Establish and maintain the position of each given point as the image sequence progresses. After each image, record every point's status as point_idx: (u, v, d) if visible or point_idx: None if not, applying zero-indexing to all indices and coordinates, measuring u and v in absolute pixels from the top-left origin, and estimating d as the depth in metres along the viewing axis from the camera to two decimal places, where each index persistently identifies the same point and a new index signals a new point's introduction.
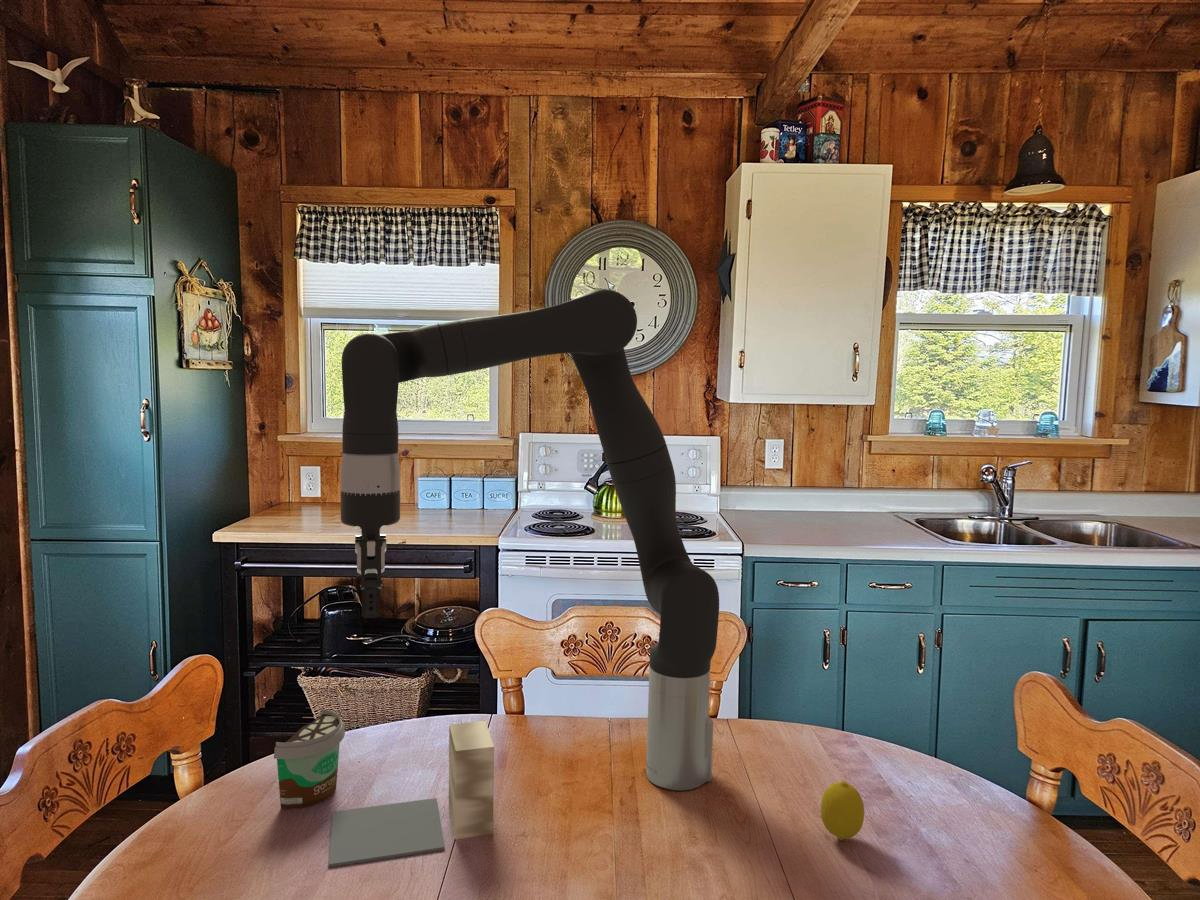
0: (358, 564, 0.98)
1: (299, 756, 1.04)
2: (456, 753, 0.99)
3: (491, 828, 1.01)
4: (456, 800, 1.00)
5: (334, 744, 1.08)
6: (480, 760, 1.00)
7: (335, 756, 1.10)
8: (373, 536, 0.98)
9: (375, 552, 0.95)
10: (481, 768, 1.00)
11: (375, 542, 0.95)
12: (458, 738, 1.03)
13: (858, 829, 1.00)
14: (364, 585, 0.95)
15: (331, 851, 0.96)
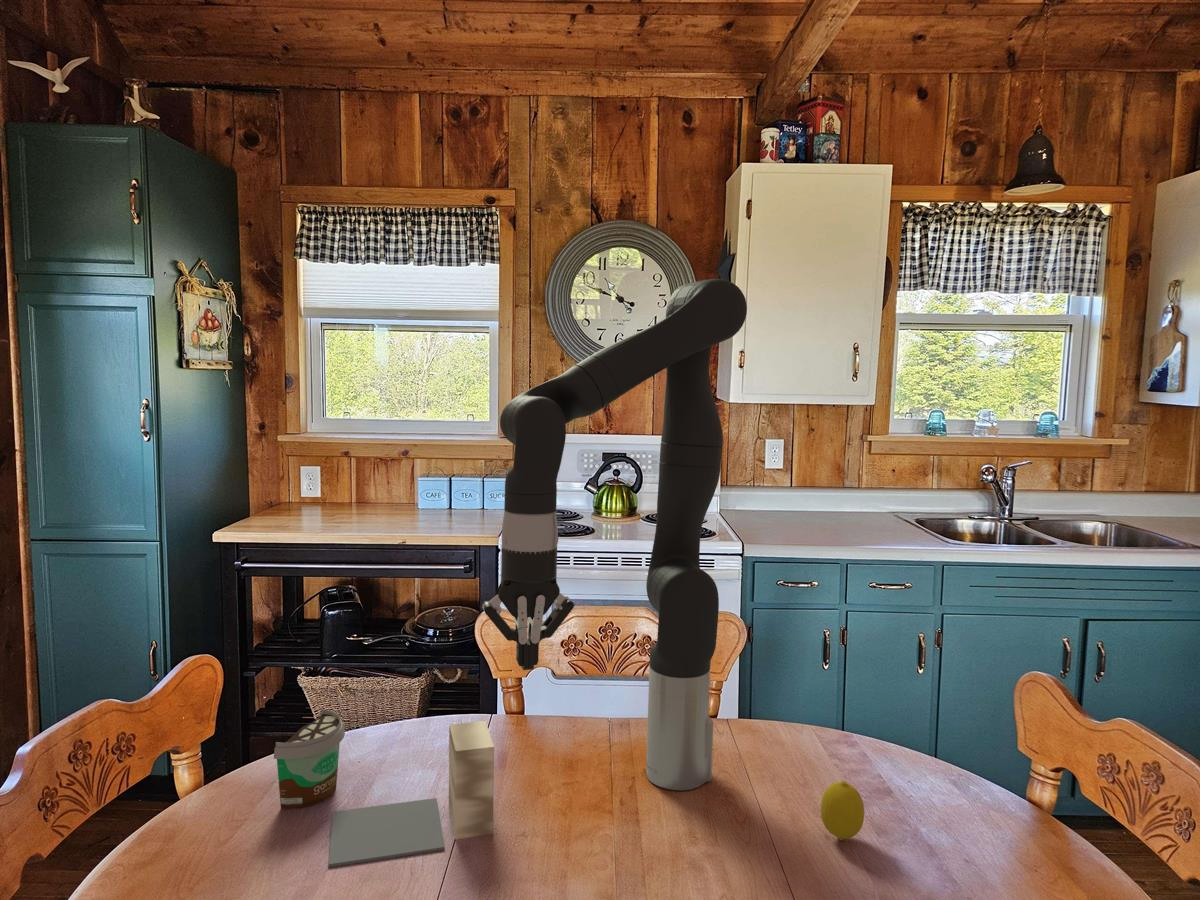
0: None
1: (299, 756, 1.04)
2: (456, 753, 0.99)
3: (491, 828, 1.01)
4: (456, 800, 1.00)
5: (334, 744, 1.08)
6: (480, 760, 1.00)
7: (335, 756, 1.10)
8: None
9: None
10: (481, 768, 1.00)
11: None
12: (458, 738, 1.03)
13: (858, 829, 1.00)
14: None
15: (331, 851, 0.96)
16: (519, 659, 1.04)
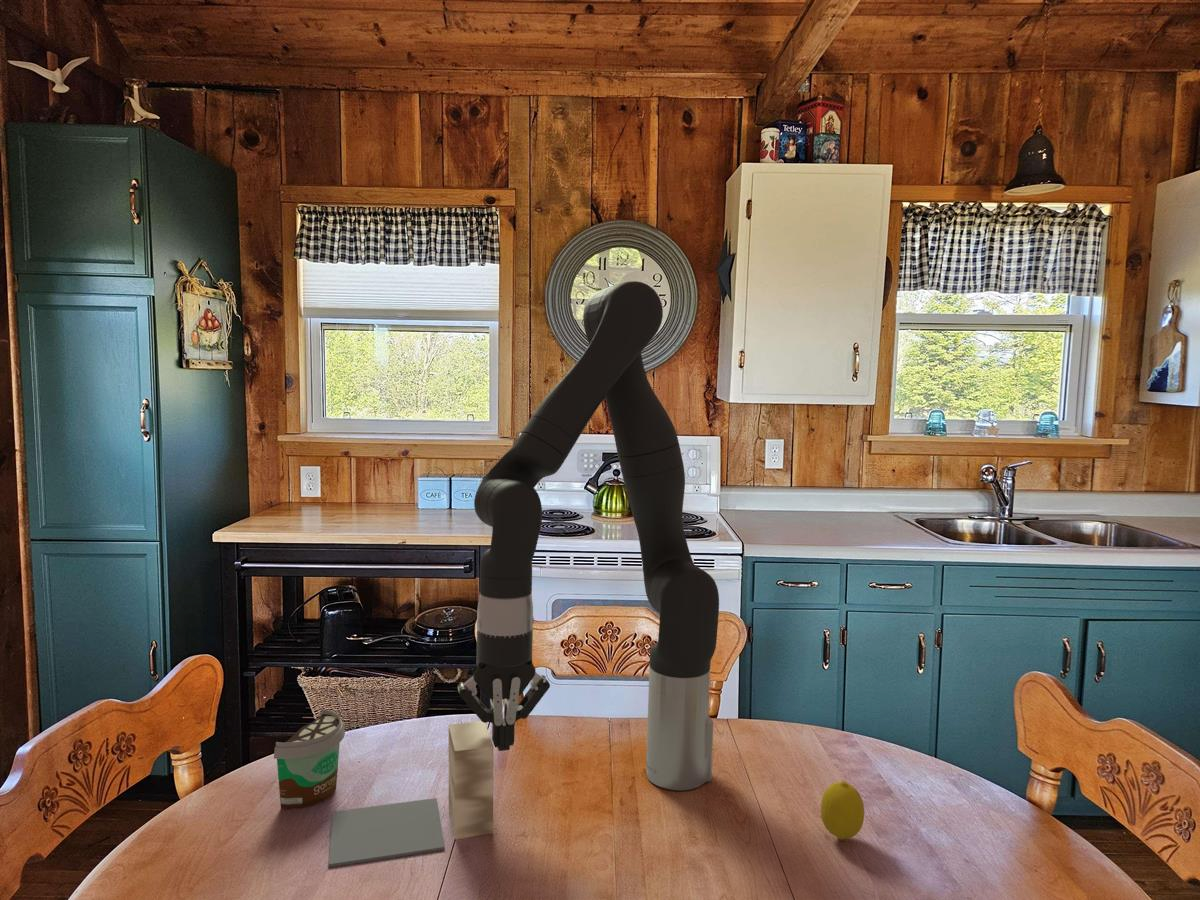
0: (517, 703, 1.04)
1: (299, 756, 1.04)
2: (455, 753, 0.99)
3: (491, 828, 1.01)
4: (456, 800, 1.00)
5: (334, 744, 1.08)
6: (480, 760, 1.00)
7: (335, 755, 1.10)
8: None
9: None
10: (480, 768, 1.00)
11: None
12: (457, 738, 1.03)
13: (858, 829, 1.00)
14: None
15: (331, 851, 0.96)
16: (495, 740, 1.04)
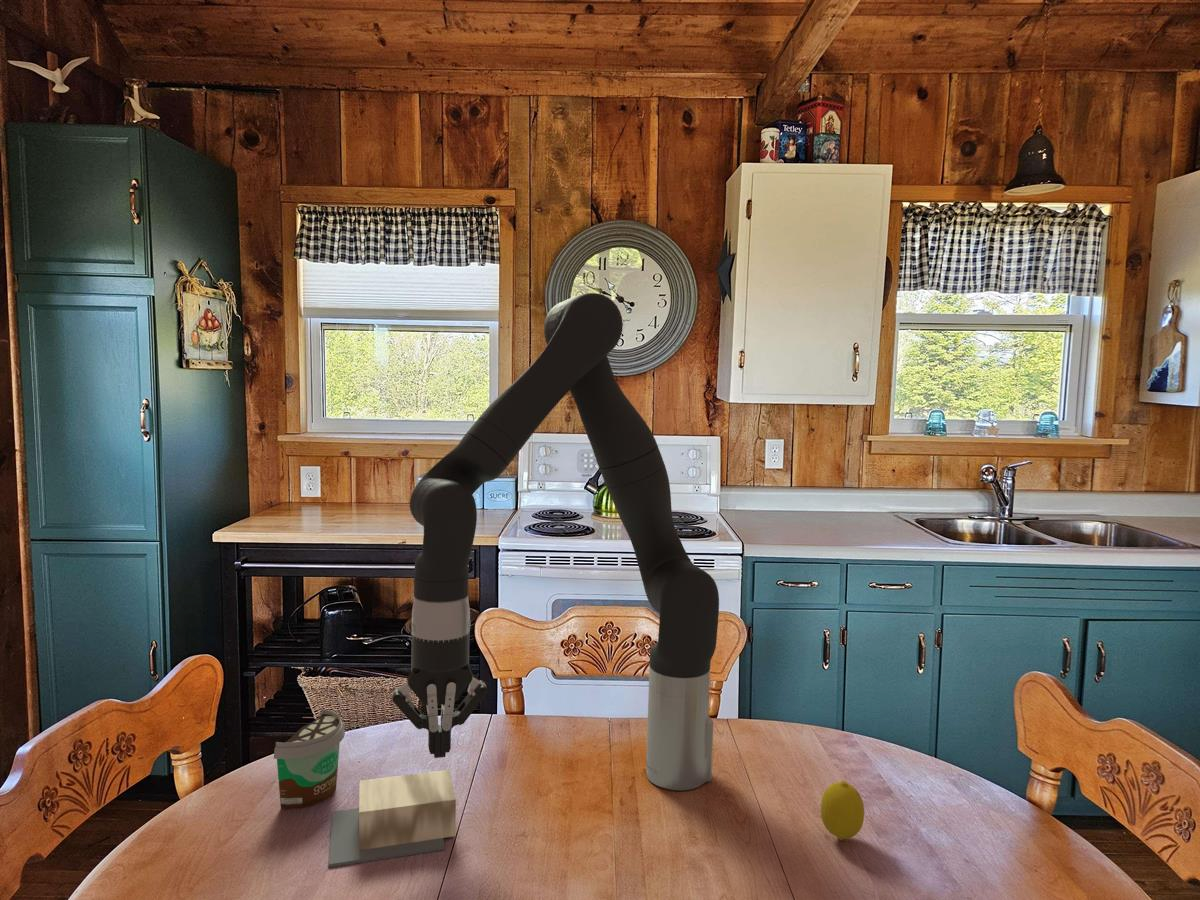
0: (453, 709, 1.01)
1: (299, 756, 1.04)
2: (362, 848, 0.97)
3: (449, 801, 0.99)
4: (413, 841, 0.99)
5: (334, 744, 1.08)
6: (373, 823, 0.97)
7: (335, 756, 1.10)
8: None
9: None
10: (382, 822, 0.97)
11: None
12: None
13: (858, 829, 1.00)
14: None
15: (331, 851, 0.96)
16: (430, 747, 1.01)
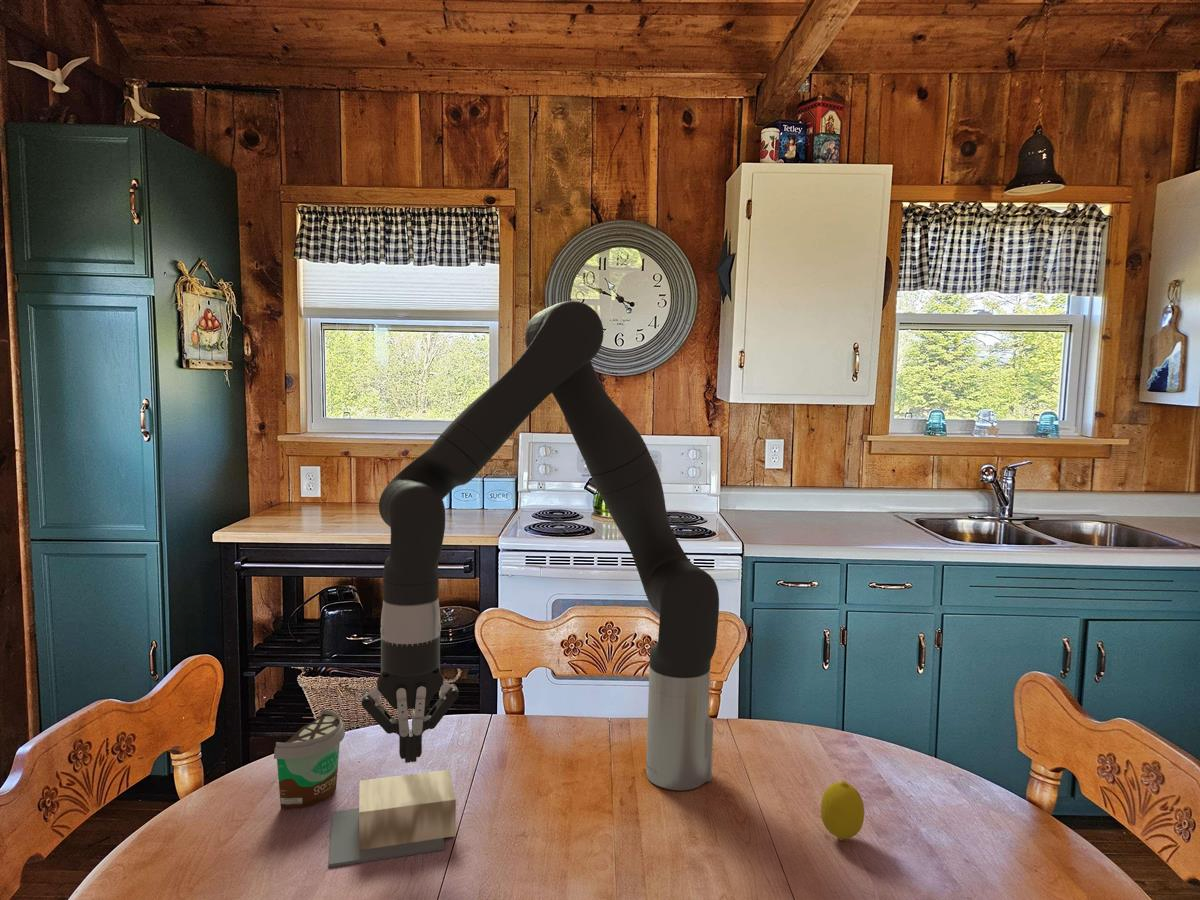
0: (423, 713, 1.00)
1: (299, 756, 1.04)
2: (362, 848, 0.97)
3: (449, 801, 0.99)
4: (413, 841, 0.99)
5: (334, 744, 1.08)
6: (373, 823, 0.97)
7: (335, 756, 1.10)
8: None
9: None
10: (382, 822, 0.97)
11: None
12: None
13: (858, 829, 1.00)
14: None
15: (331, 851, 0.96)
16: (401, 751, 1.00)
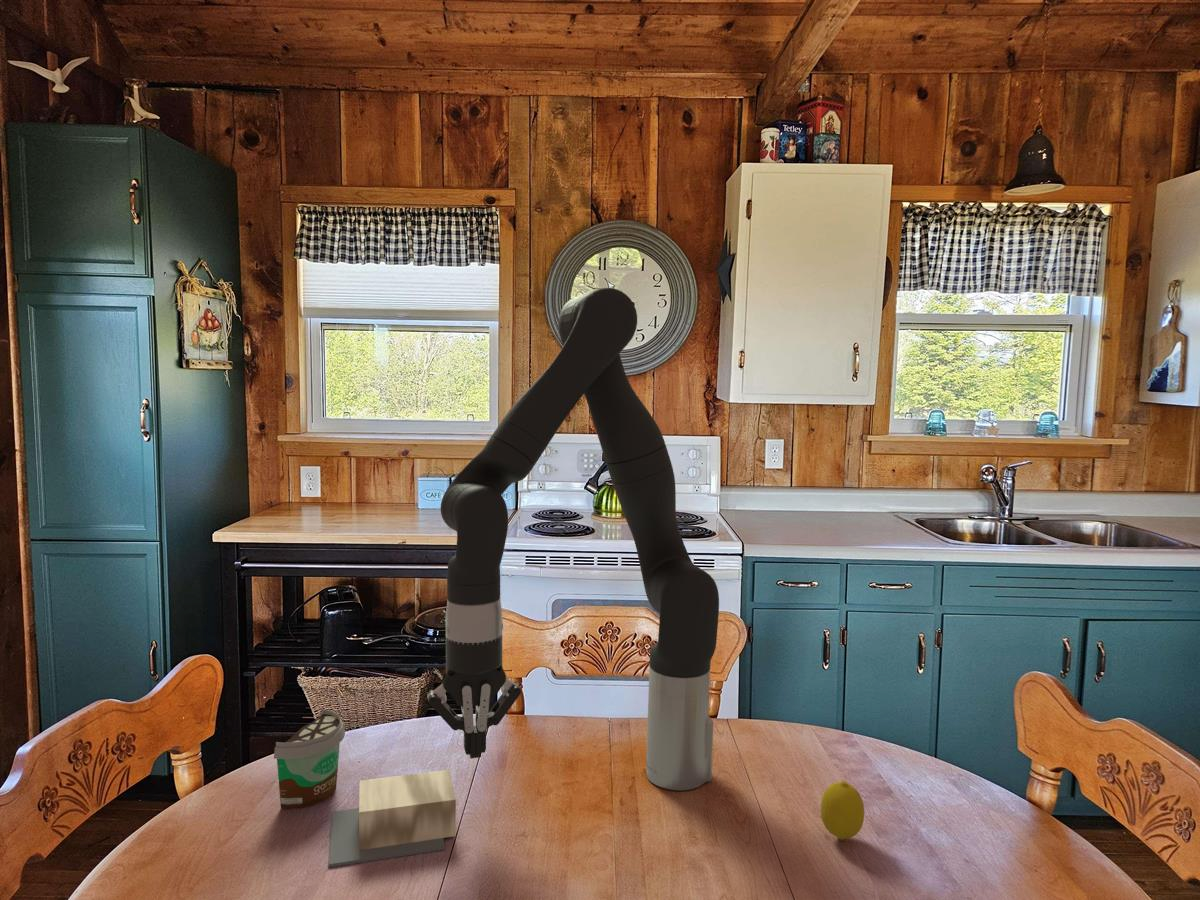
0: (488, 709, 1.02)
1: (299, 756, 1.04)
2: (362, 848, 0.97)
3: (449, 801, 0.99)
4: (413, 841, 0.99)
5: (334, 744, 1.08)
6: (373, 823, 0.97)
7: (335, 756, 1.10)
8: None
9: None
10: (382, 822, 0.97)
11: None
12: None
13: (858, 829, 1.00)
14: None
15: (331, 851, 0.96)
16: (466, 748, 1.03)
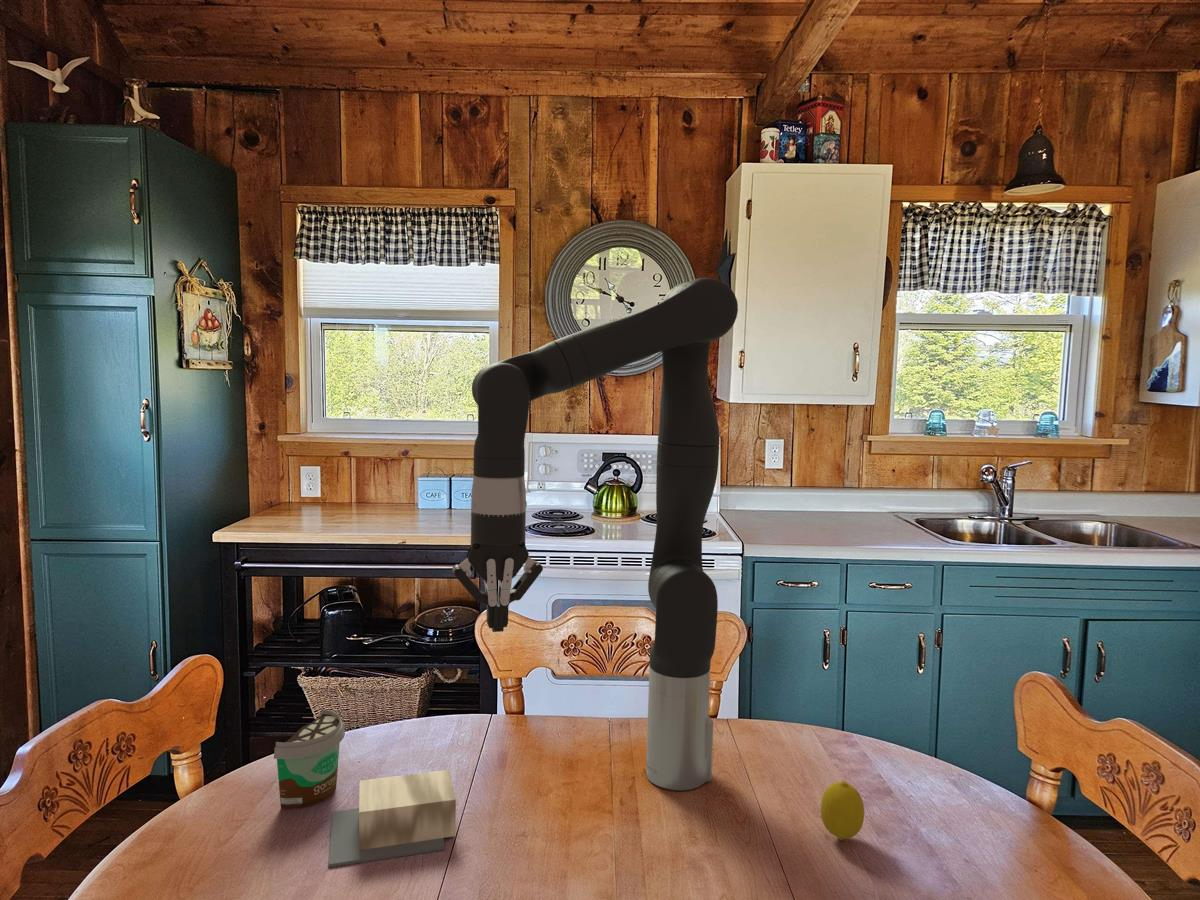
0: None
1: (299, 756, 1.04)
2: (362, 848, 0.97)
3: (449, 801, 0.99)
4: (413, 841, 0.99)
5: (334, 744, 1.08)
6: (373, 823, 0.97)
7: (335, 755, 1.10)
8: None
9: None
10: (382, 822, 0.97)
11: None
12: None
13: (858, 829, 1.00)
14: None
15: (331, 851, 0.96)
16: (489, 621, 1.06)
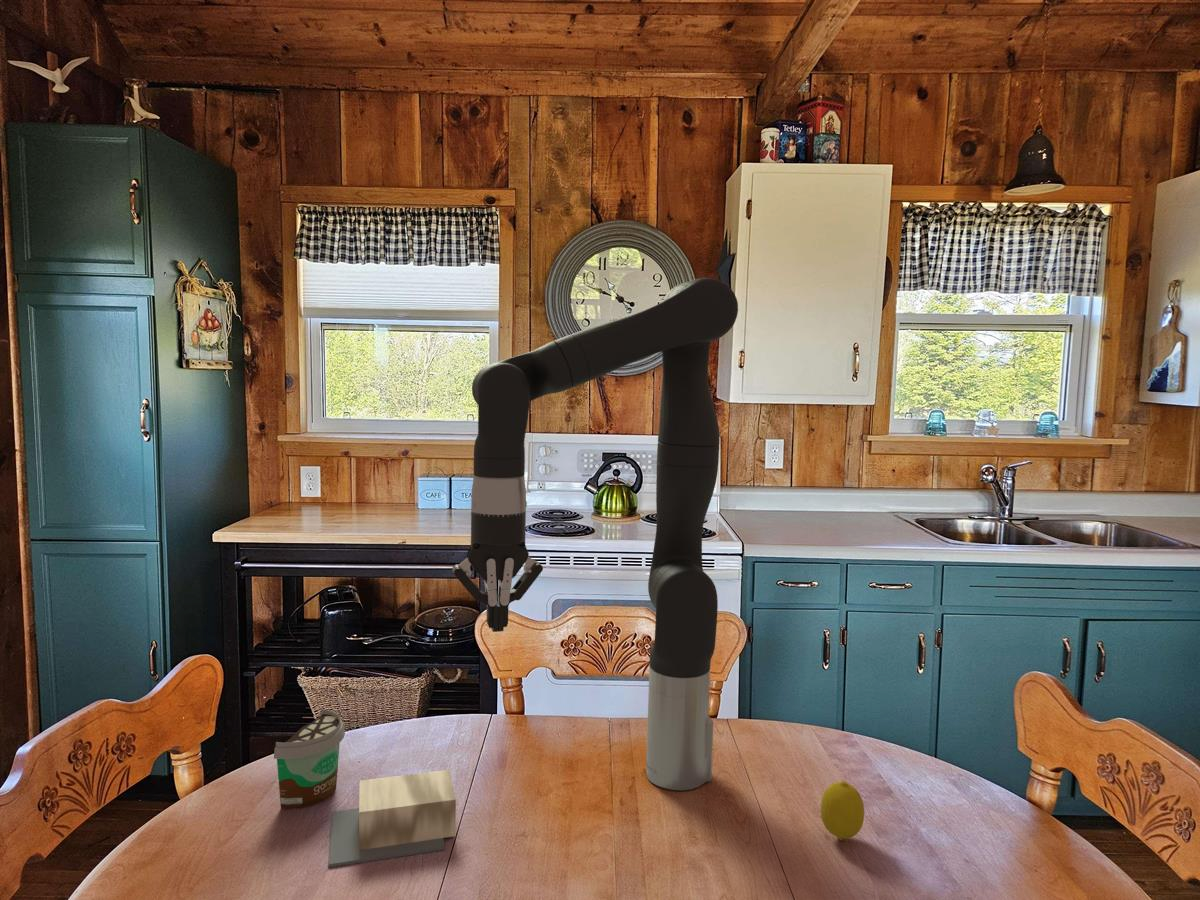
0: None
1: (299, 756, 1.04)
2: (362, 848, 0.97)
3: (449, 801, 0.99)
4: (413, 841, 0.99)
5: (334, 744, 1.08)
6: (373, 823, 0.97)
7: (335, 756, 1.10)
8: None
9: None
10: (382, 822, 0.97)
11: None
12: None
13: (858, 829, 1.00)
14: None
15: (331, 851, 0.96)
16: (489, 621, 1.06)
